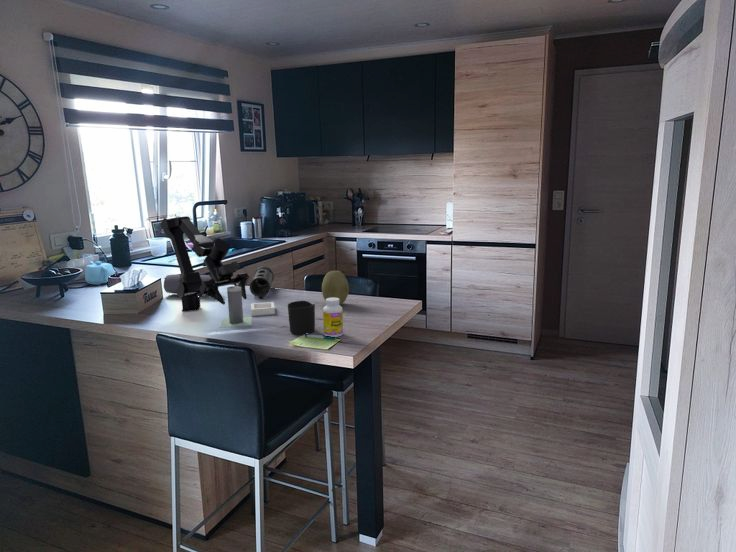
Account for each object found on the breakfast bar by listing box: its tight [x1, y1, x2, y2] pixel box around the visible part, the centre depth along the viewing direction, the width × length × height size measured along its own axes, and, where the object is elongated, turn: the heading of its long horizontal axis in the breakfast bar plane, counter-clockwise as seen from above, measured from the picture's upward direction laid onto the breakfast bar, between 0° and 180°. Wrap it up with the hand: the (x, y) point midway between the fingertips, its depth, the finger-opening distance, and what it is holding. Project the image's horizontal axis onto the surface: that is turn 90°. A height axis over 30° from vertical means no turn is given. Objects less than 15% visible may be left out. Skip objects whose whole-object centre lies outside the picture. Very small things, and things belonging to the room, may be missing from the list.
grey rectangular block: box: [226, 285, 244, 324], centre depth 187 cm, size 5×5×13 cm
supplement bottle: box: [322, 297, 344, 338], centre depth 173 cm, size 7×7×13 cm
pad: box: [220, 316, 253, 328], centre depth 189 cm, size 11×11×1 cm
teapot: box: [84, 260, 116, 286], centre depth 262 cm, size 12×18×12 cm
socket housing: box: [250, 301, 276, 317], centre depth 201 cm, size 9×9×4 cm
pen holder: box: [287, 300, 316, 336], centre depth 178 cm, size 9×9×10 cm
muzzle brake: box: [249, 265, 275, 299], centre depth 237 cm, size 10×28×10 cm, turn 7°
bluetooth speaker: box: [163, 273, 213, 297], centre depth 232 cm, size 23×9×10 cm, turn 80°
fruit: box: [321, 269, 350, 306], centre depth 211 cm, size 11×11×15 cm
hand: (235, 301), depth 187 cm, fingers open, 9 cm apart
